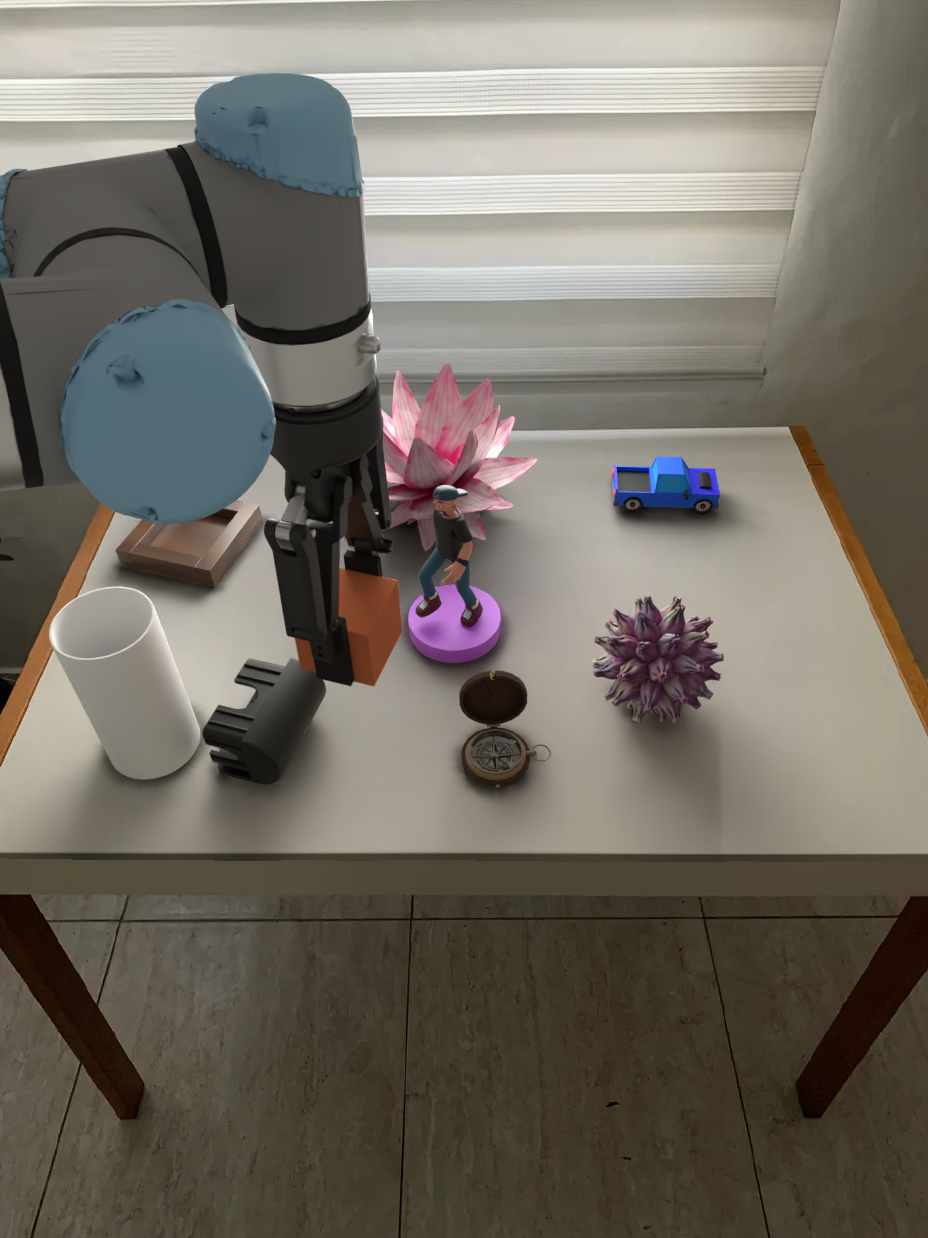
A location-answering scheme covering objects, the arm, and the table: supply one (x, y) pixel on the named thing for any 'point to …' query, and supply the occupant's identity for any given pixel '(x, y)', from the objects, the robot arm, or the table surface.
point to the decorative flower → (447, 452)
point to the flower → (657, 659)
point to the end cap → (264, 721)
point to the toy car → (665, 486)
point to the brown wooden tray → (192, 544)
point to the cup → (126, 680)
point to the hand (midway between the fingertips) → (353, 646)
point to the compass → (495, 729)
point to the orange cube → (364, 623)
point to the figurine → (452, 593)
